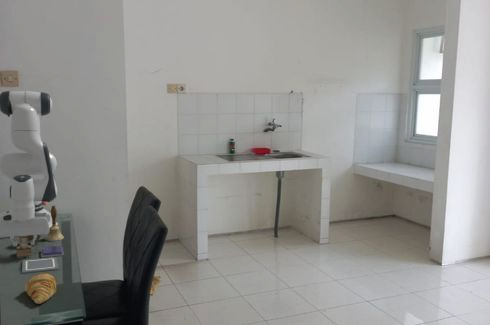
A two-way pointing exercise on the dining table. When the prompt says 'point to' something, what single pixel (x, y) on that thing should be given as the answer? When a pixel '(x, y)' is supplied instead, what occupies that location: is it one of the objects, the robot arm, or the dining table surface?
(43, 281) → the croissant
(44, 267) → the board
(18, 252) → the stamp
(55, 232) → the hand bell
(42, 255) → the ink pad
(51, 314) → the dining table surface
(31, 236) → the cup
